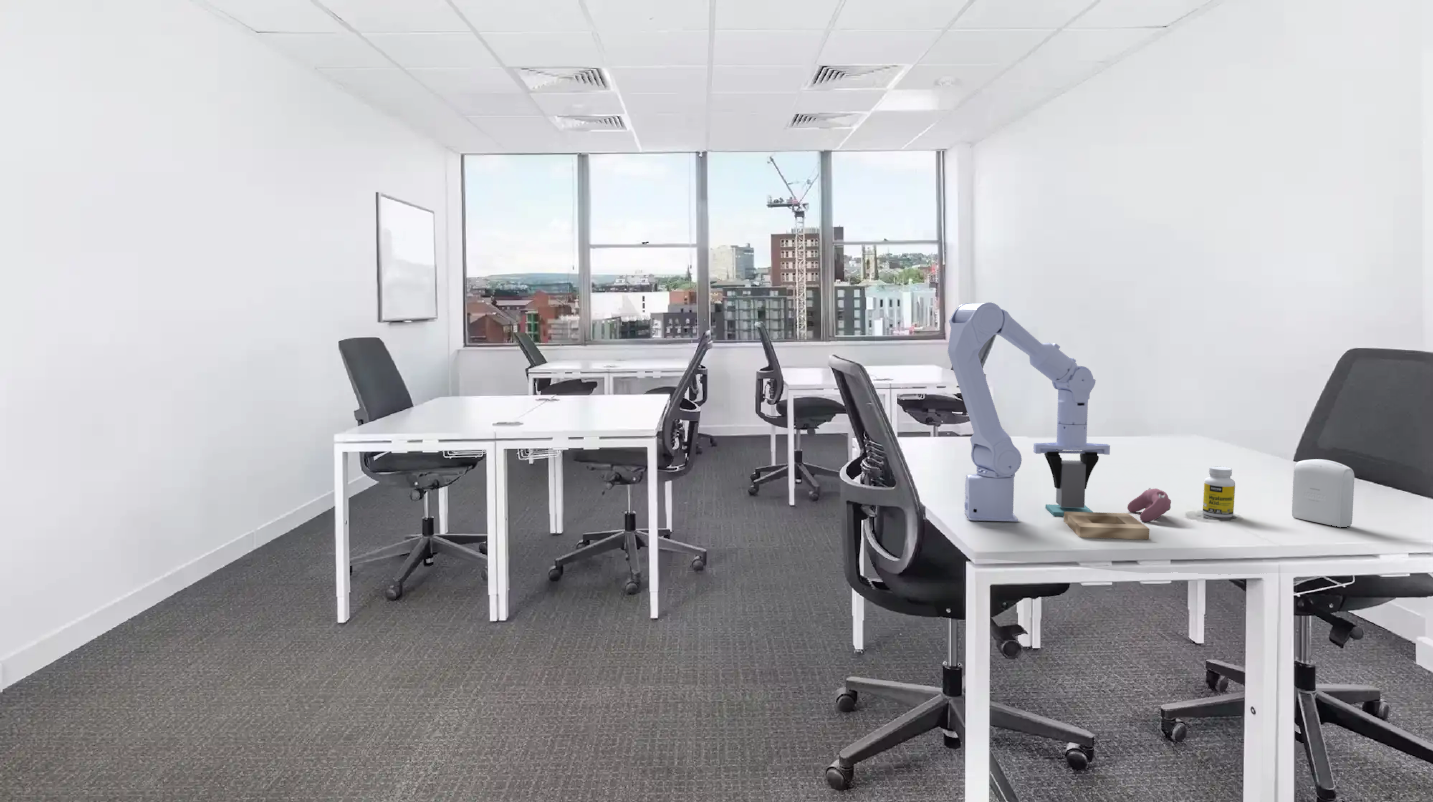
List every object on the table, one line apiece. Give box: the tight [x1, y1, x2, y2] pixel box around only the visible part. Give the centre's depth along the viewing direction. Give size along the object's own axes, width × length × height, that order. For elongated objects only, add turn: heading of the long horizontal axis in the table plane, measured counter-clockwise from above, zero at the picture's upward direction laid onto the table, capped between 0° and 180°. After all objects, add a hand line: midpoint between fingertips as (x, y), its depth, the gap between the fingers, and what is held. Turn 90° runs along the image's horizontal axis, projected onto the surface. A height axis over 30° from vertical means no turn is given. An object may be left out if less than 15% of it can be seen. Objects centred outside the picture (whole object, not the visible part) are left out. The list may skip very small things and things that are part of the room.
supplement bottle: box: [1202, 465, 1236, 519], centre depth 168 cm, size 5×5×10 cm
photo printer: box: [1291, 458, 1355, 528], centre depth 161 cm, size 10×4×12 cm, turn 20°
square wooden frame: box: [1063, 511, 1150, 540], centre depth 158 cm, size 12×12×2 cm
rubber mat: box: [1044, 504, 1094, 517], centre depth 173 cm, size 8×7×1 cm
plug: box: [1055, 459, 1086, 508], centre depth 172 cm, size 4×4×9 cm
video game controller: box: [1127, 487, 1172, 523], centre depth 168 cm, size 10×5×7 cm, turn 169°
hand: (1070, 487), depth 172 cm, fingers closed on plug, 4 cm apart
